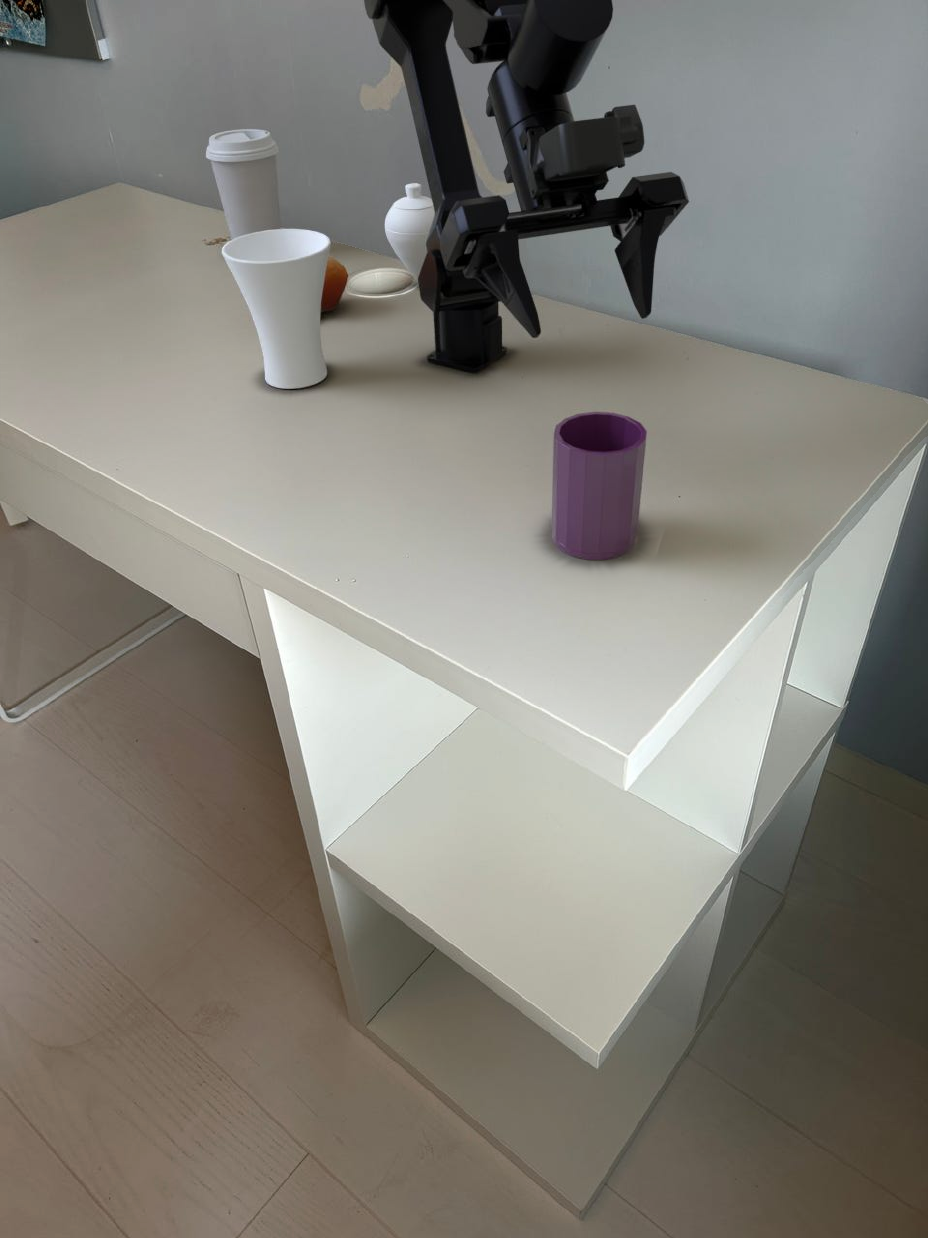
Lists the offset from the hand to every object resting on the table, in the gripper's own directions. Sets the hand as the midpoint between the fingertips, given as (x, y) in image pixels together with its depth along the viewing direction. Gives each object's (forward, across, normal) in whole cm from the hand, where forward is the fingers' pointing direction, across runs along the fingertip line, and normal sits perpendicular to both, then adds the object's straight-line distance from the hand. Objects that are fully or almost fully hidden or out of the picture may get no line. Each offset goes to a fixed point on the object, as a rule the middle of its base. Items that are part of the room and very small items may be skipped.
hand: (592, 325), depth 72 cm
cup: (-12, -18, +33) cm, 39 cm away
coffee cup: (-42, -14, +65) cm, 78 cm away
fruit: (-24, -12, +46) cm, 53 cm away
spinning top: (-26, +2, +48) cm, 55 cm away
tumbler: (+15, -3, +4) cm, 16 cm away
